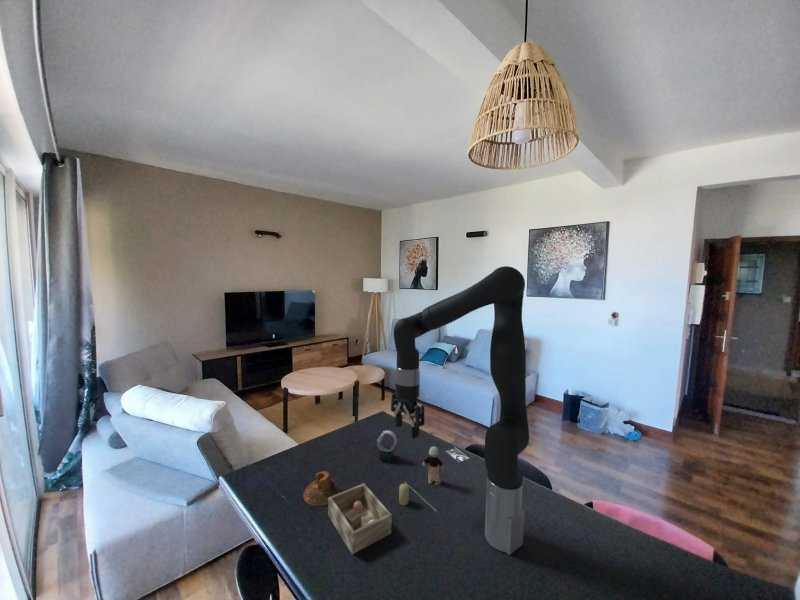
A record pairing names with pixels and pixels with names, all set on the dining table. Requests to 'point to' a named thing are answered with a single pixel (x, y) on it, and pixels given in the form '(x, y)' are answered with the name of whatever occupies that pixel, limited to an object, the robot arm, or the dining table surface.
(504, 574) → the dining table surface
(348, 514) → the walnut cube
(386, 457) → the watch
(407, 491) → the lid
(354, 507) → the terracotta ball
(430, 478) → the grandmother figurine
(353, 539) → the box
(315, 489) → the brown rounded piece
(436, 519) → the dining table surface
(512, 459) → the robot arm
